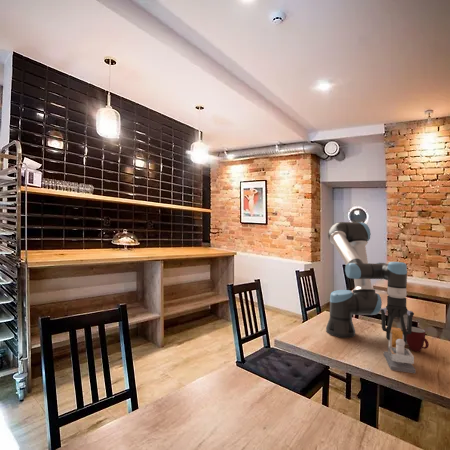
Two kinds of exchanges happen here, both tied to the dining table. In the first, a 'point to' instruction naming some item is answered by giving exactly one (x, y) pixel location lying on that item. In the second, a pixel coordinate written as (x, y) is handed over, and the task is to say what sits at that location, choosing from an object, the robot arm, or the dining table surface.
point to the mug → (416, 339)
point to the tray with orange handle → (405, 357)
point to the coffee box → (397, 323)
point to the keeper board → (398, 366)
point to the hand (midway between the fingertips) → (396, 347)
